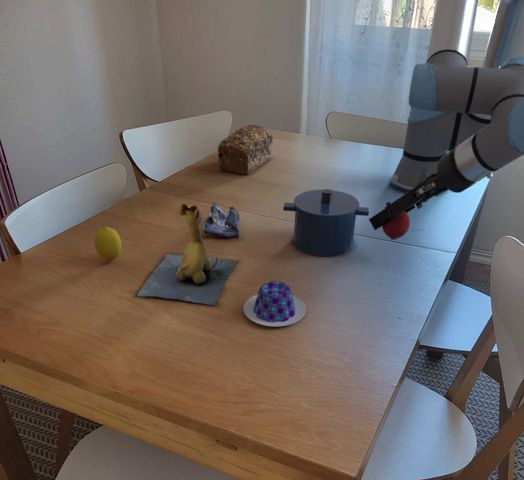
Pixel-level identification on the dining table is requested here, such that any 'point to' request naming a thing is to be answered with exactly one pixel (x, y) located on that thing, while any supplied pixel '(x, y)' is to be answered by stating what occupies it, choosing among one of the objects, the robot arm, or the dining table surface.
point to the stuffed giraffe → (189, 269)
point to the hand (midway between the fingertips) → (381, 220)
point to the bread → (245, 149)
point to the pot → (324, 232)
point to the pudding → (274, 305)
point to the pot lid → (326, 203)
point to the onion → (397, 226)
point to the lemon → (108, 243)
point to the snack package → (222, 222)
